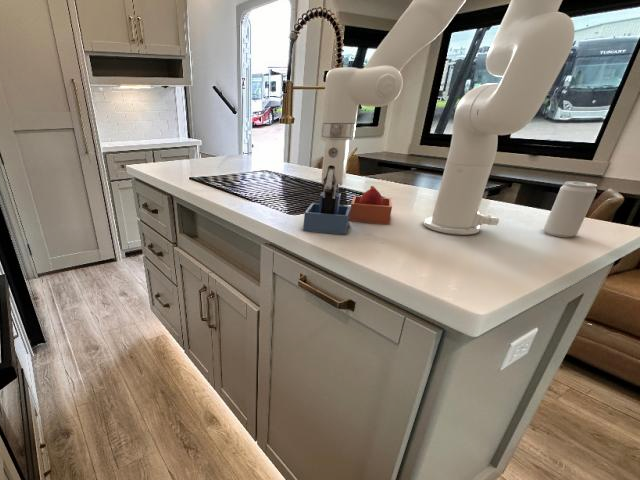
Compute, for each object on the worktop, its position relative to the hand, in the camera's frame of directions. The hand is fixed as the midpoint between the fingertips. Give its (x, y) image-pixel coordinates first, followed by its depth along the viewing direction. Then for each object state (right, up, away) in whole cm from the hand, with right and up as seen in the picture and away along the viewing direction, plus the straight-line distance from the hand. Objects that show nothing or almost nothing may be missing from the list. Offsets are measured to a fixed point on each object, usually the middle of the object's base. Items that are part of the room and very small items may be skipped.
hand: (328, 210), depth 90 cm
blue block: (0, 0, 0) cm, 0 cm away
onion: (+13, +1, +10) cm, 17 cm away
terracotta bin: (+14, +1, +10) cm, 17 cm away
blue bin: (0, -4, +2) cm, 4 cm away
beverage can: (+55, -7, -3) cm, 56 cm away
